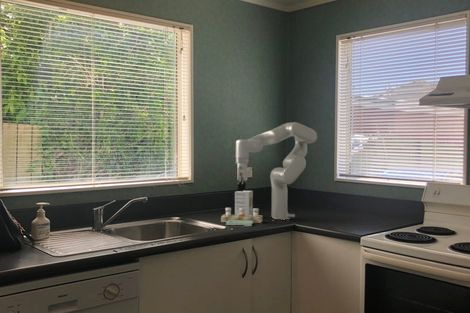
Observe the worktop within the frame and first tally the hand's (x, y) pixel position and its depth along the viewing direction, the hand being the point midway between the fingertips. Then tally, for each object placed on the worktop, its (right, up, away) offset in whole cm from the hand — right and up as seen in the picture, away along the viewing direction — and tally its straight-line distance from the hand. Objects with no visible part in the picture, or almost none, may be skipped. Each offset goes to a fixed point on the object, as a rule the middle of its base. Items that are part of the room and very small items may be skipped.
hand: (241, 190), depth 274 cm
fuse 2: (+8, -18, -1) cm, 20 cm away
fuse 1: (-8, -18, +2) cm, 20 cm away
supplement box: (+2, -19, +18) cm, 26 cm away
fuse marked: (0, -18, +1) cm, 18 cm away
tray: (-1, -19, -9) cm, 21 cm away
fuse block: (0, -19, +1) cm, 19 cm away
